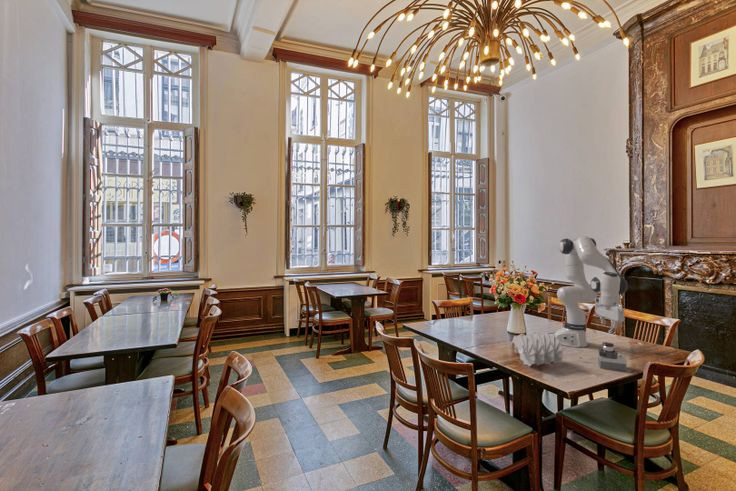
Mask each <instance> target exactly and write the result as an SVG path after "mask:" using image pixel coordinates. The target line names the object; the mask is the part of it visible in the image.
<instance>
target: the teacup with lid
mask: <svg viewBox="0 0 736 491" xmlns="http://www.w3.org/2000/svg"><path fill="white" fill-rule="evenodd" d="M520 334H521V335H522V336H524V335H525V334H524V333H520ZM515 336H516V337H517V336H518V335H515ZM510 347H511V348H512V349H513V350H514V352H515V354H518V355H520V354H519V352H518V347H517V346H516V345H515V344H514V342H513V341H511V343H510Z"/></svg>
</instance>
